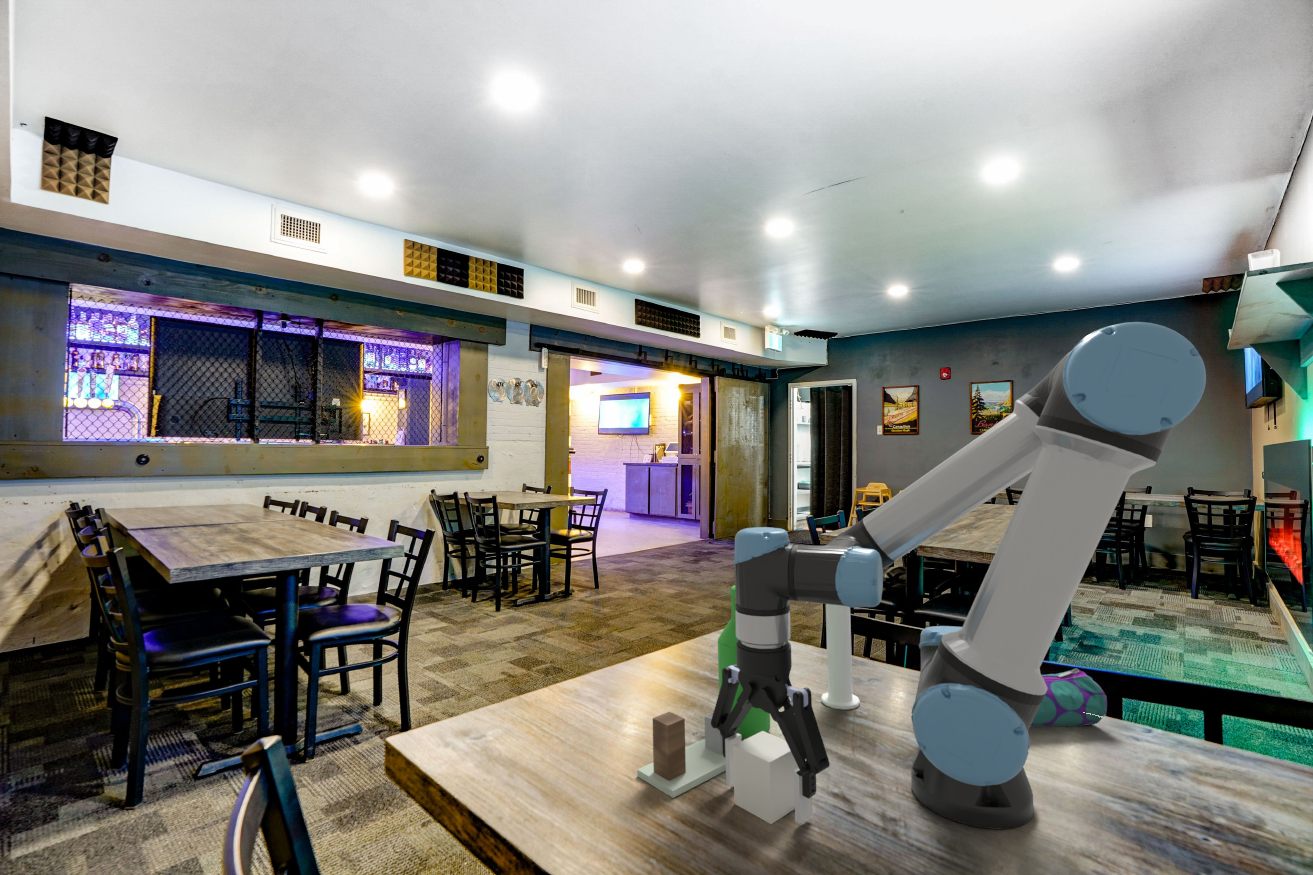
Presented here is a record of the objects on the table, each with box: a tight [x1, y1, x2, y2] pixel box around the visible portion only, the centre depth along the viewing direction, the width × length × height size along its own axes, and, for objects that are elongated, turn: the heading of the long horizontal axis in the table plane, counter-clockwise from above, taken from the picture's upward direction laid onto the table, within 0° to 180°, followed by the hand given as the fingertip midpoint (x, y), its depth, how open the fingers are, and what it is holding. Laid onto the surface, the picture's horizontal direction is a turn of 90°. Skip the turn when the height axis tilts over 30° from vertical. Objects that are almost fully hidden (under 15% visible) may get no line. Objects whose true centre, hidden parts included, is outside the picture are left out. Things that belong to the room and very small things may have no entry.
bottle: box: [717, 584, 771, 740], centre depth 107 cm, size 9×9×25 cm
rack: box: [636, 712, 726, 799], centre depth 95 cm, size 8×17×6 cm, turn 131°
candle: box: [820, 604, 860, 711], centre depth 118 cm, size 7×7×25 cm
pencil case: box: [1030, 668, 1108, 727], centre depth 107 cm, size 21×9×10 cm, turn 95°
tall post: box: [652, 711, 686, 781], centre depth 92 cm, size 3×3×8 cm
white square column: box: [733, 731, 799, 825], centre depth 85 cm, size 6×6×8 cm
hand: (767, 799), depth 84 cm, fingers open, 11 cm apart
